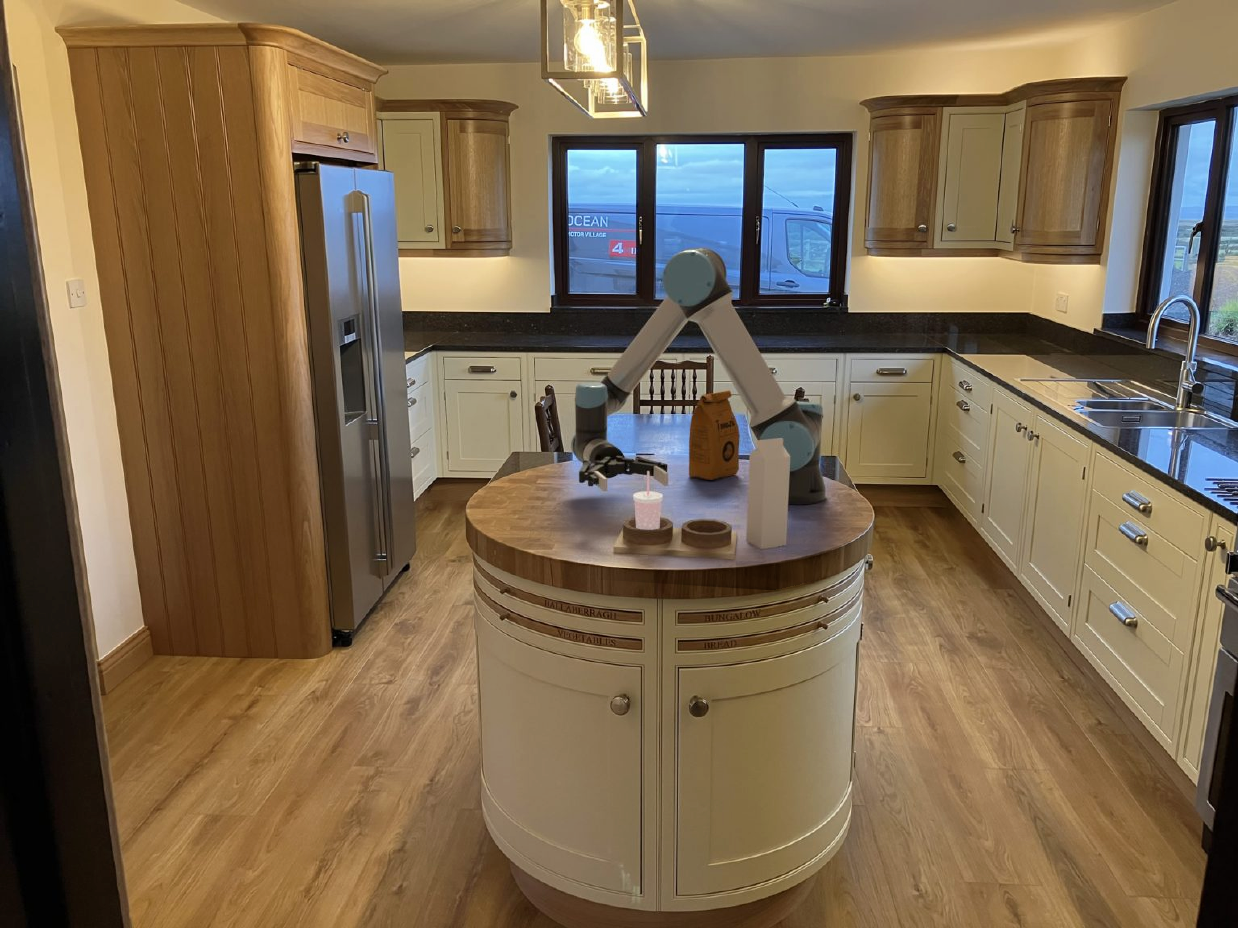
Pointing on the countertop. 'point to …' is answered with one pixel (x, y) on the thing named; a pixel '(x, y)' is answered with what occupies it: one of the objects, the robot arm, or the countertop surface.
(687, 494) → the countertop surface
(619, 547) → the socket board
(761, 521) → the milk
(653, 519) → the beverage cup
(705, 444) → the coffee package
